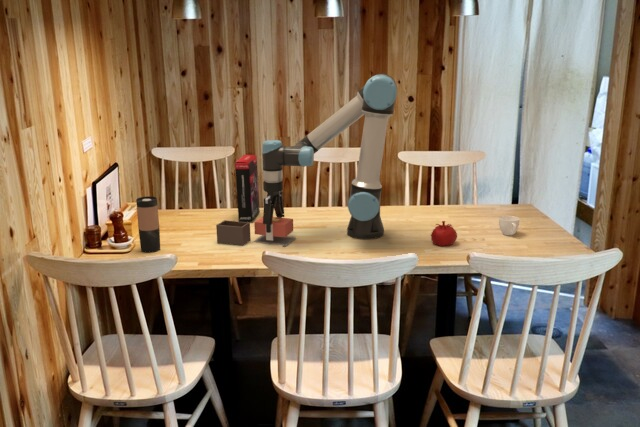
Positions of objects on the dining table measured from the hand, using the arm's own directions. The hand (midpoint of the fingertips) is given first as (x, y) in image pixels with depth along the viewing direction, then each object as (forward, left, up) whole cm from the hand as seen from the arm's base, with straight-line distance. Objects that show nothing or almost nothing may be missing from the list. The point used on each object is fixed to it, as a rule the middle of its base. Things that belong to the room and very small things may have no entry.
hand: (274, 236), depth 247 cm
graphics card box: (+24, -28, -2) cm, 37 cm away
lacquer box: (+14, +8, -2) cm, 16 cm away
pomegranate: (-64, -17, -2) cm, 66 cm away
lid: (0, 0, +2) cm, 2 cm away
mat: (0, 0, -2) cm, 2 cm away
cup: (-88, -36, -2) cm, 95 cm away
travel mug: (+41, +24, -2) cm, 48 cm away
